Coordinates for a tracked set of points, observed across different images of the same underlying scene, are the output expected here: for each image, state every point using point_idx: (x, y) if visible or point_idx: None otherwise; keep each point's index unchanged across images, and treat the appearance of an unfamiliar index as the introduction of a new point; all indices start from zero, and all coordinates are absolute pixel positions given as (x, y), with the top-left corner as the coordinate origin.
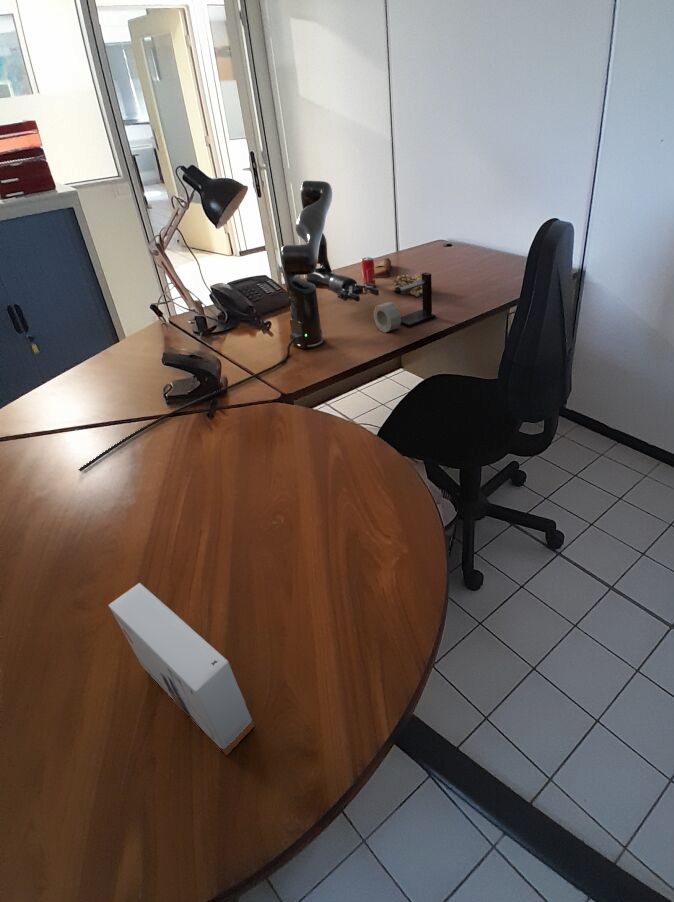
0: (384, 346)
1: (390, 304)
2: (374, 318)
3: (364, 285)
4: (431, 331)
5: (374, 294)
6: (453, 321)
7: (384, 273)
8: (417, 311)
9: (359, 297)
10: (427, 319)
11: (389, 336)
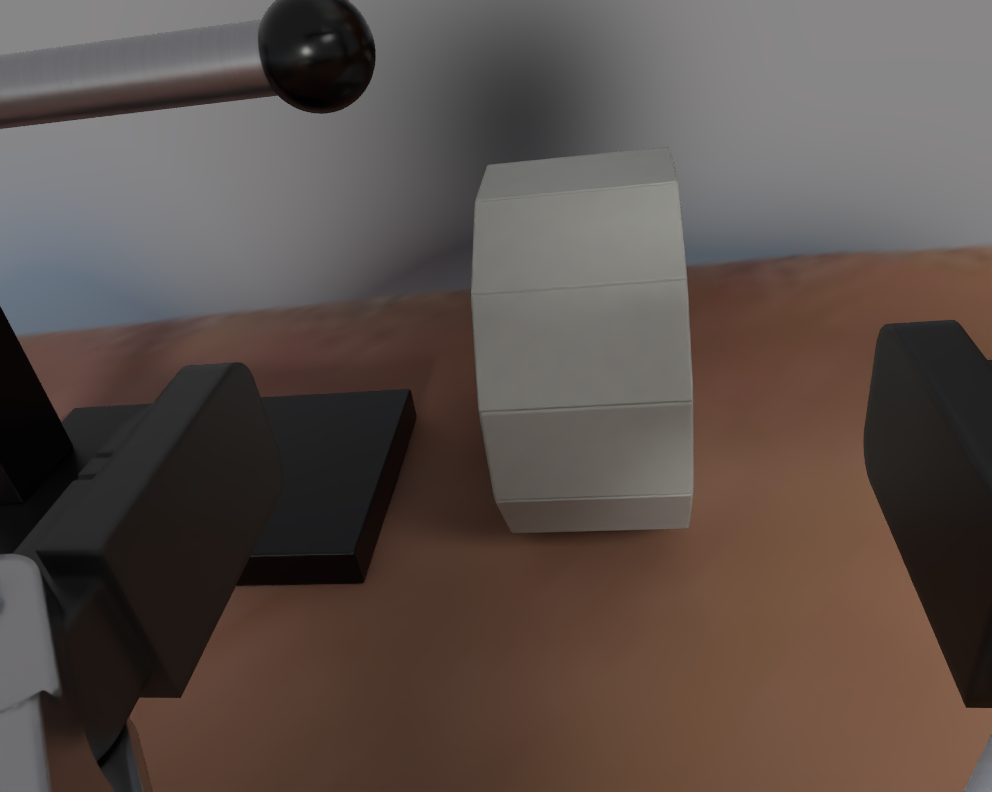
0: (853, 303)
1: (544, 159)
2: (693, 480)
3: (2, 757)
4: (376, 315)
5: (241, 551)
6: (122, 344)
7: None
8: (8, 550)
9: (875, 357)
10: None
11: (696, 388)
